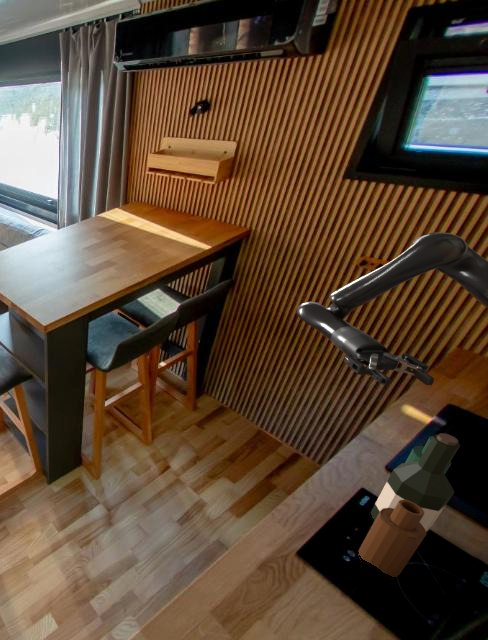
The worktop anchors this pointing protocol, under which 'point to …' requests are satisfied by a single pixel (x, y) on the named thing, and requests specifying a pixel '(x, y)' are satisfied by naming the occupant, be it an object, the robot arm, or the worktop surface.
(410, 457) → the green bottle
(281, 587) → the worktop surface
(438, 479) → the wine bottle
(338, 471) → the worktop surface
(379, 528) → the brown bottle
